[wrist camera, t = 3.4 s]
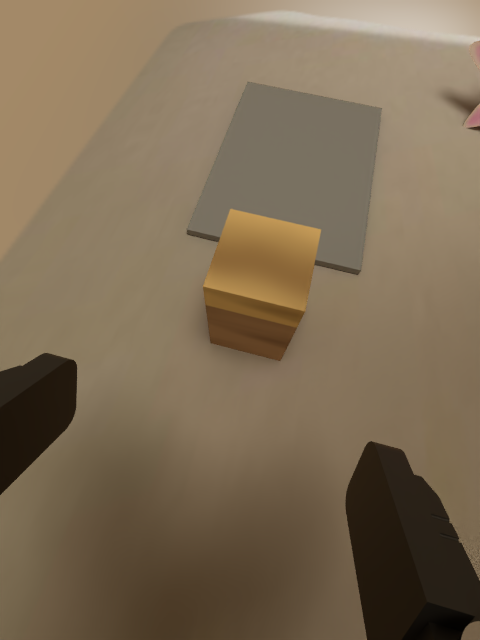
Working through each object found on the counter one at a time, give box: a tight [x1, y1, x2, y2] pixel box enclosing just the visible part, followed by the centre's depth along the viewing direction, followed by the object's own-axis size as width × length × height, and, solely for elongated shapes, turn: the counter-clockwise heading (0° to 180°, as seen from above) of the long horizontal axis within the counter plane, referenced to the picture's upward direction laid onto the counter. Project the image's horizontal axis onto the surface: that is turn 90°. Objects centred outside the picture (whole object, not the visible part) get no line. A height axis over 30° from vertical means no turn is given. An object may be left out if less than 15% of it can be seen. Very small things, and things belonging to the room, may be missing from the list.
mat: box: [187, 82, 382, 274], centre depth 30 cm, size 20×14×1 cm
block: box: [203, 209, 321, 361], centre depth 20 cm, size 5×5×8 cm
